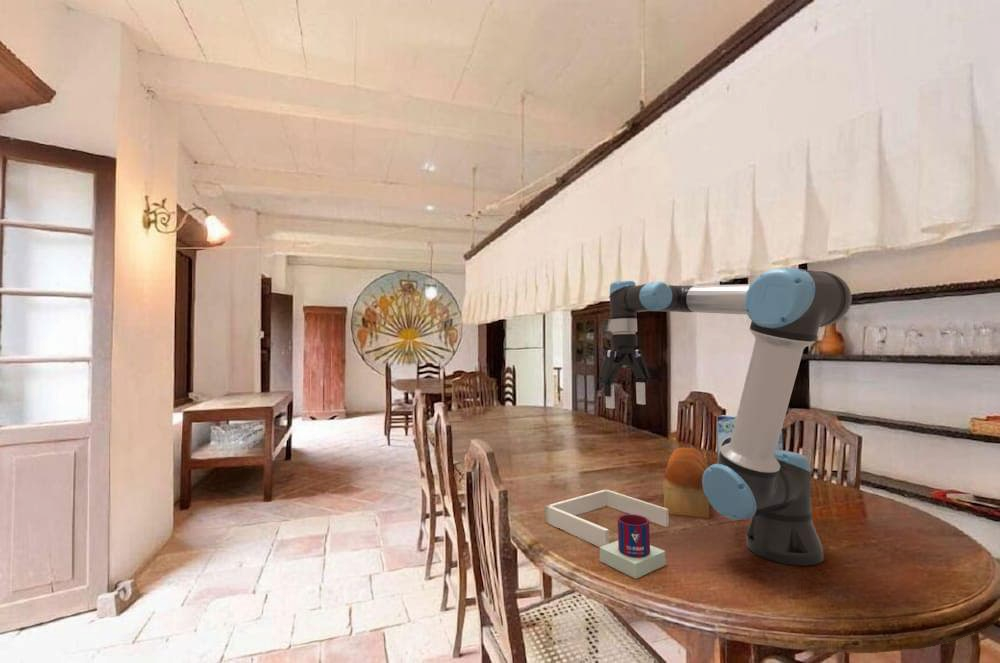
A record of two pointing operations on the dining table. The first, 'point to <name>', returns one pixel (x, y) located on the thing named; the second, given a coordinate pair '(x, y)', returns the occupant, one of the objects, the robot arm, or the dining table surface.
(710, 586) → the dining table surface
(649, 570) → the stand
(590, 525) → the white u-shaped frame
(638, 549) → the mug
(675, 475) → the bread
